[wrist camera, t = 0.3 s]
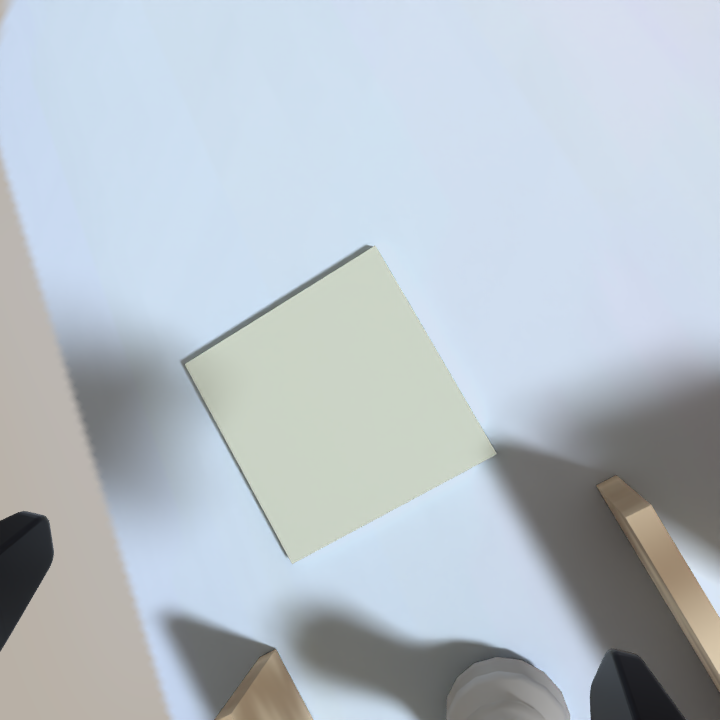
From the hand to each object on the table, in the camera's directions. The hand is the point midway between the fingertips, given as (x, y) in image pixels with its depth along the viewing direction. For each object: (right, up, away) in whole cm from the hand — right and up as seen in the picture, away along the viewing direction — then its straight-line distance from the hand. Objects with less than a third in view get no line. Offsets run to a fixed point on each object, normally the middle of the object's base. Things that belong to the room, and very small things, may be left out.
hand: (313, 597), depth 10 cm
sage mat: (0, +2, +14) cm, 14 cm away
